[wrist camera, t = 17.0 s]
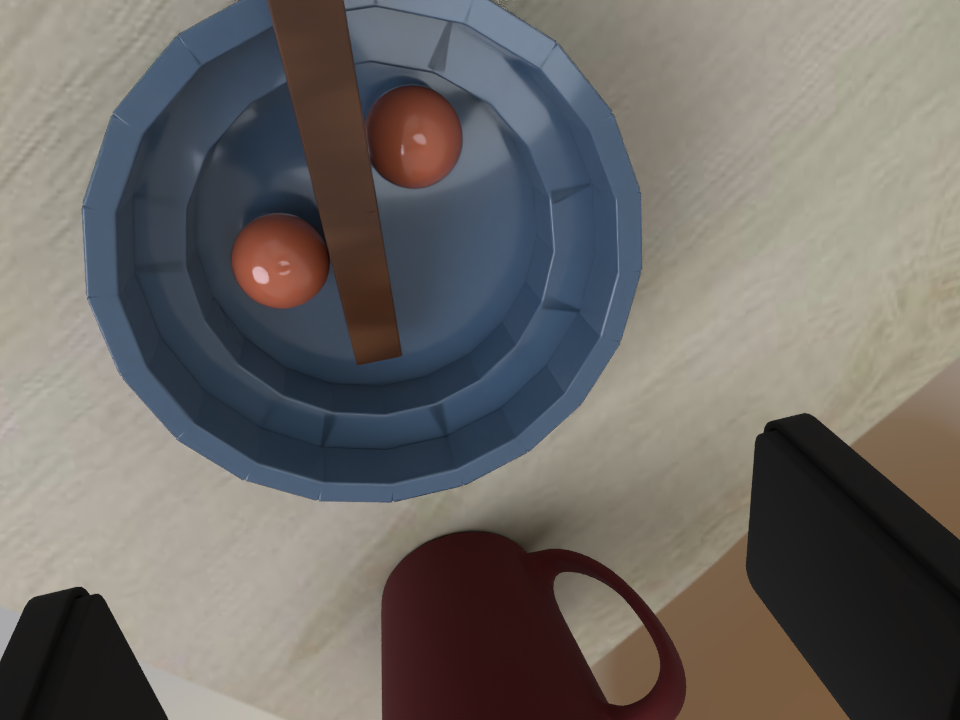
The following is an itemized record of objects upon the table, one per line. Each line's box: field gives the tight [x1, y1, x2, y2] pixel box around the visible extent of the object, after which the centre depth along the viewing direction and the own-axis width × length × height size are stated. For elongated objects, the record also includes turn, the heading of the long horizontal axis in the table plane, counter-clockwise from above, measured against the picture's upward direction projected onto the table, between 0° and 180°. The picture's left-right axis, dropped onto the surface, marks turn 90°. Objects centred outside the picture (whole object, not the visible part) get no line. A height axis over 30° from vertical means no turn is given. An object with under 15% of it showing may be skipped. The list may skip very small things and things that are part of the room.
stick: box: [267, 0, 402, 366], centre depth 17 cm, size 2×2×20 cm
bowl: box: [82, 0, 642, 502], centre depth 23 cm, size 16×16×5 cm
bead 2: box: [364, 84, 463, 189], centre depth 21 cm, size 3×3×3 cm
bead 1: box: [230, 212, 331, 309], centre depth 22 cm, size 3×3×3 cm
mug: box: [381, 532, 686, 720], centre depth 28 cm, size 12×9×11 cm
